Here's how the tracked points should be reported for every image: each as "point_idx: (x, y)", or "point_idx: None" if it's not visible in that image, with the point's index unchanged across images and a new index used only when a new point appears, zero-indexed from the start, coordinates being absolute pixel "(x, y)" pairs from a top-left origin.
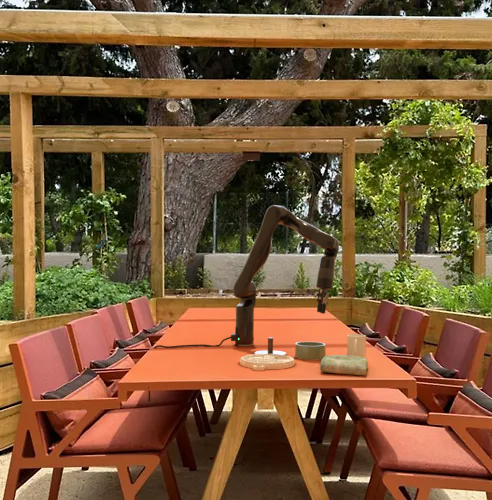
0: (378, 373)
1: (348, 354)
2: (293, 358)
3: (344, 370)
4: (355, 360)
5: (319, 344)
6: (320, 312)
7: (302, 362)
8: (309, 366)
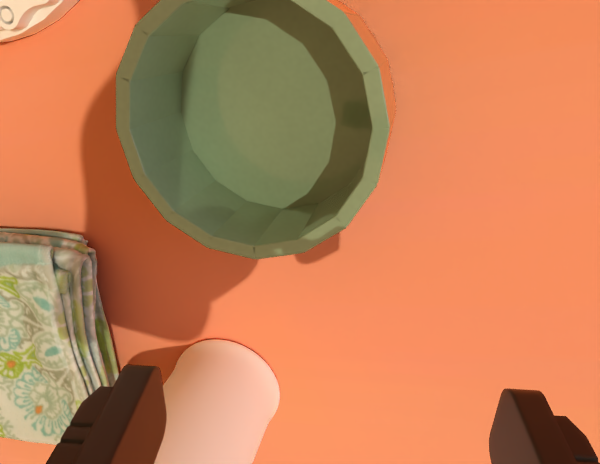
0: (29, 444)
1: (173, 377)
2: (4, 27)
3: None
4: (22, 397)
5: (346, 198)
6: (510, 393)
7: (109, 79)
8: (15, 143)
